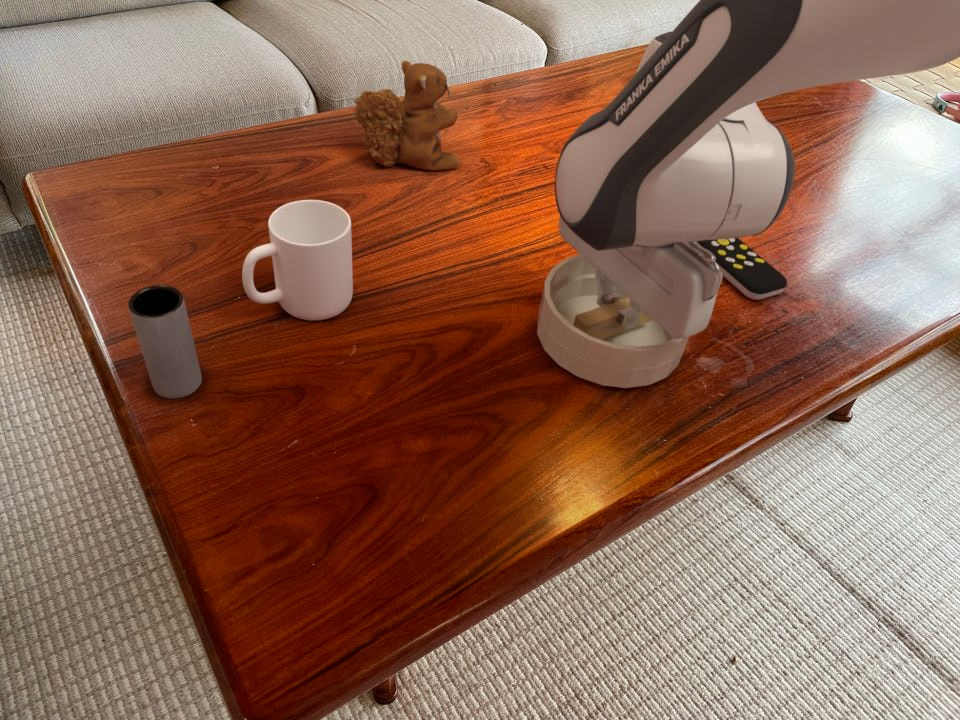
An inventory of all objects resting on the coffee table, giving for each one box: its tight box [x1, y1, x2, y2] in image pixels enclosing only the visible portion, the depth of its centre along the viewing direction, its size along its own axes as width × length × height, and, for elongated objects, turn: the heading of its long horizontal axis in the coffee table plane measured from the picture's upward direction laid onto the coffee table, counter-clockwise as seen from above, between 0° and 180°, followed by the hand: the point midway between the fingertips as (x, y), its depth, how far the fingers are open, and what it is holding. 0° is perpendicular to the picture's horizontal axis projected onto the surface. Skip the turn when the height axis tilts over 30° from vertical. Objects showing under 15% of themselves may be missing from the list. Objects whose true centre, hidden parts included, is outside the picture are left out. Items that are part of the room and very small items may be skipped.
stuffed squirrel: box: [352, 60, 460, 172], centre depth 102 cm, size 10×14×13 cm
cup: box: [241, 199, 354, 321], centre depth 78 cm, size 8×12×10 cm
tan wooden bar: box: [573, 297, 652, 340], centre depth 80 cm, size 10×2×3 cm, turn 122°
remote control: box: [696, 238, 788, 301], centre depth 94 cm, size 6×13×2 cm, turn 27°
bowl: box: [536, 253, 690, 389], centre depth 80 cm, size 16×16×6 cm
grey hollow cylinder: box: [127, 284, 203, 399], centre depth 68 cm, size 4×4×10 cm
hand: (615, 315), depth 80 cm, fingers closed on tan wooden bar, 2 cm apart
